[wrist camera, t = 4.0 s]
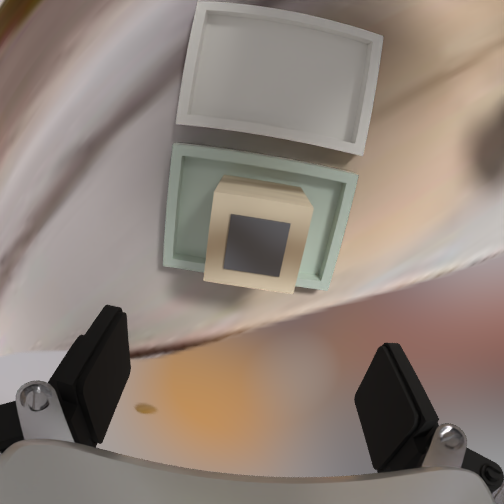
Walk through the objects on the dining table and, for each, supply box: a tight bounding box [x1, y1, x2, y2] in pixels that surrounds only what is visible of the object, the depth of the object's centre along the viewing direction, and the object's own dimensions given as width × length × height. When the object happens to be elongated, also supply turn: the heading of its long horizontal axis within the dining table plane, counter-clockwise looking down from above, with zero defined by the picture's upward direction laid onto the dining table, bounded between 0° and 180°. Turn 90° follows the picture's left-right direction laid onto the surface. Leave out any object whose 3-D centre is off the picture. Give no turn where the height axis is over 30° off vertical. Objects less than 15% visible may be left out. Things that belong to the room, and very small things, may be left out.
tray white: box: [175, 1, 384, 156], centre depth 21 cm, size 10×14×2 cm
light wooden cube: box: [203, 175, 314, 294], centre depth 23 cm, size 6×6×6 cm
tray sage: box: [163, 142, 359, 291], centre depth 25 cm, size 10×14×2 cm
